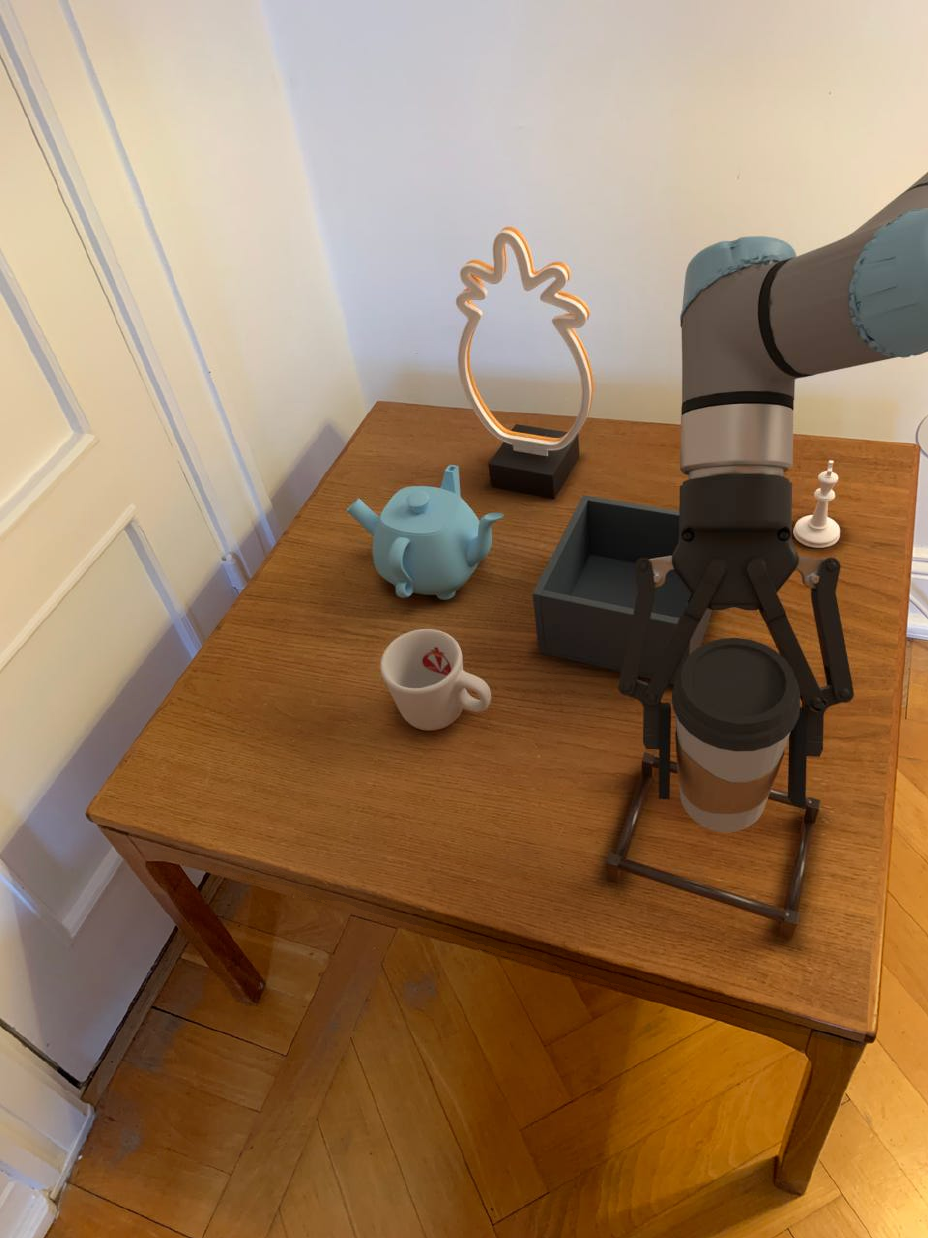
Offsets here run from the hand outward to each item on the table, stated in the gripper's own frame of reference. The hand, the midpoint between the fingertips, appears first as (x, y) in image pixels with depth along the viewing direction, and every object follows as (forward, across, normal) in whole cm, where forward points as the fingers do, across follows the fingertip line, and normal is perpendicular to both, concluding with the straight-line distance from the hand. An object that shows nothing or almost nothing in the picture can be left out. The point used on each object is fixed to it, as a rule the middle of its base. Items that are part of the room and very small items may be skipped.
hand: (729, 798), depth 61 cm
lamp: (-29, +20, -49) cm, 61 cm away
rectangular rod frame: (+7, 0, -12) cm, 14 cm away
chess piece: (-21, -13, -41) cm, 47 cm away
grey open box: (-12, +8, -31) cm, 34 cm away
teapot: (-17, +30, -36) cm, 50 cm away
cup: (-2, +26, -21) cm, 33 cm away
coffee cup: (+2, 0, -6) cm, 7 cm away
